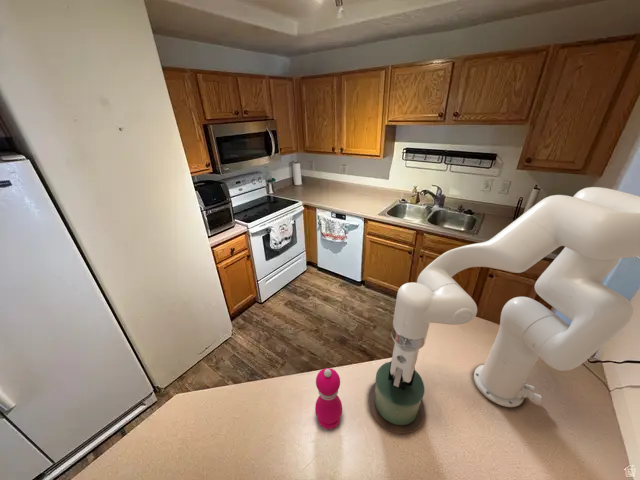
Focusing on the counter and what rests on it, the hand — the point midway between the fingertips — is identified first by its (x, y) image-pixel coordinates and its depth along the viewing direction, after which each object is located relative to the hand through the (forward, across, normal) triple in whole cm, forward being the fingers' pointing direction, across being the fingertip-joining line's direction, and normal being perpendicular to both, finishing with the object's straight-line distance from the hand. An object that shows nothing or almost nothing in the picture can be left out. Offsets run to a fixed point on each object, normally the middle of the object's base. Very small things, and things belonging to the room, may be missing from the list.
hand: (399, 381), depth 68 cm
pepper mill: (+11, -12, +15) cm, 22 cm away
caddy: (+9, 0, 0) cm, 9 cm away
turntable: (+11, 0, 0) cm, 11 cm away
